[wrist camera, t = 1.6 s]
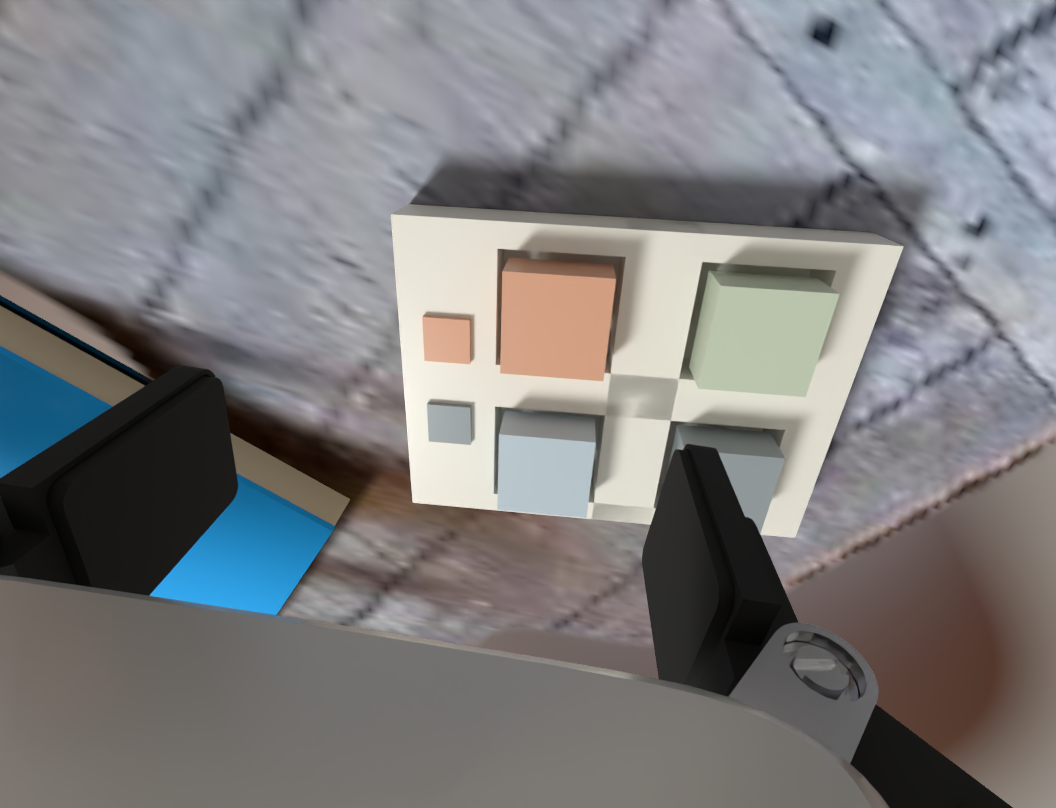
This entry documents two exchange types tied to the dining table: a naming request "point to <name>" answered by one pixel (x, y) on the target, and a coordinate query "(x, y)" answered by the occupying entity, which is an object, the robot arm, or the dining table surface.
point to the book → (263, 481)
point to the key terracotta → (556, 318)
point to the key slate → (741, 463)
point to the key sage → (761, 332)
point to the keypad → (614, 348)
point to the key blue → (545, 463)
